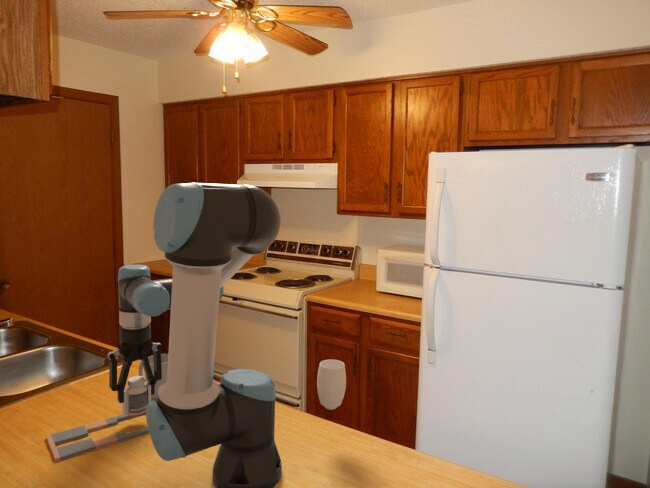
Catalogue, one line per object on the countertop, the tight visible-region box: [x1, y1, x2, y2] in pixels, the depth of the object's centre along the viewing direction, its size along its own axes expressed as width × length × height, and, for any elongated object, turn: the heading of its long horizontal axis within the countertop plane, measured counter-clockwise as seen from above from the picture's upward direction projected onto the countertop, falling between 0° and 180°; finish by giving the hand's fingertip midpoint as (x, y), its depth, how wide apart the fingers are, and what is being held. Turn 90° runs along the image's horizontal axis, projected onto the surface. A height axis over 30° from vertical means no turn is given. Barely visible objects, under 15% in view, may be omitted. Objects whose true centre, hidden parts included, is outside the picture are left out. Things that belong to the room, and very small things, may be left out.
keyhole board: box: [45, 412, 150, 463], centre depth 118 cm, size 12×25×1 cm, turn 129°
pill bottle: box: [125, 375, 147, 416], centre depth 122 cm, size 5×5×9 cm
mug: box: [138, 353, 168, 400], centre depth 141 cm, size 12×8×11 cm
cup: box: [316, 359, 347, 411], centre depth 115 cm, size 7×7×21 cm
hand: (136, 409), depth 122 cm, fingers closed on pill bottle, 5 cm apart
